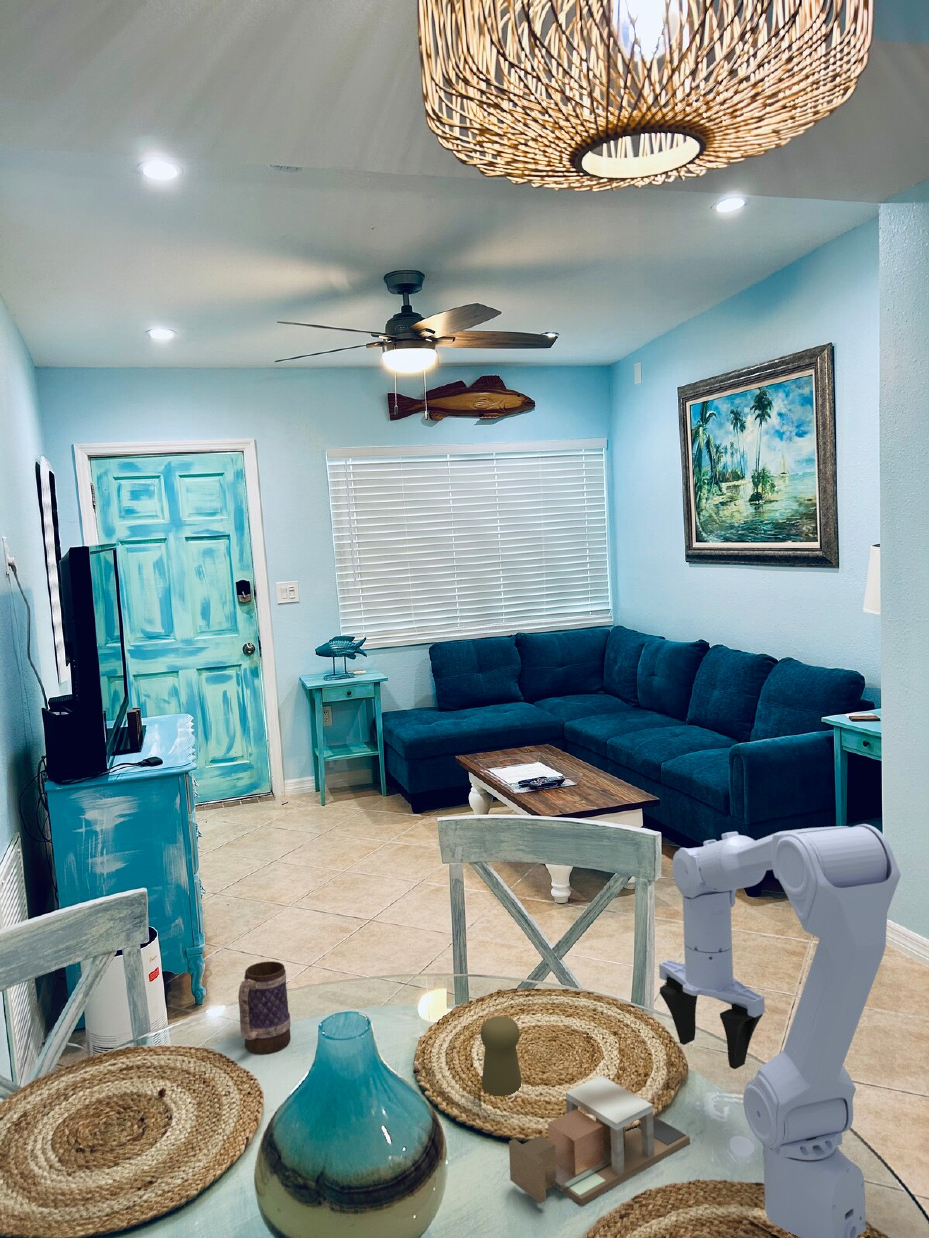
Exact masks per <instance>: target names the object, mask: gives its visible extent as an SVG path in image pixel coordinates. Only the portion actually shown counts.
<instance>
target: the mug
mask: <svg viewBox="0 0 929 1238" xmlns="http://www.w3.org/2000/svg"><path fill="white" fill-rule="evenodd" d="M287 988H288V987H287V972H286V969H285V965H284V963H282V962H279V961H270V960H269V961H260V962H258V963H255V964H252V965H250V966H248V967H247V968H246V969H245V972H244V978H243V981H241V983H240V985H239V989H238V995H237V997H238V999H237V1000H238V1006H239V1023H240V1024H239V1025H240V1035H241V1038H242V1039H244V1047H245V1048H246V1050H248V1051H249V1052H251V1053H253V1054H259V1055H264V1054H265V1055H266V1054H271V1053H275V1052H279V1051H281V1050H283V1049H284V1048H285V1047H286V1046H288V1044H290V1042H291V1040H292V1039H291V1037H292V1036H291V1023H292V1022H291V1014H290V1012H289V1001H288V990H287Z"/></svg>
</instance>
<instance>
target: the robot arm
mask: <svg viewBox="0 0 929 1238" xmlns="http://www.w3.org/2000/svg"><path fill="white" fill-rule="evenodd" d="M702 843H703V846H699V847H692V848H691V847H690V848H686V847H680V848H679V849H678V850H677V851H675V853H674V855H673V858H672V863H671V865H672V869H671V870H672V875H673V879H674V880H673V881H674V882H675V885H676V888H677V890H678V891H679V892H680V894H682V912H683V913H682V914H683V919H682V921H683V943H684V945H683V946H684V947H683V949H684V950H683V951H684V963H681V962H677V961H673V960H671V959H668V960H666V961H663V962H660V963H659V964H658V967H659V969H658V971H659V979H661V980H663V981H666V982H665V984H664V985H662V986H660V987H659V994H660V996H661V997H662V999H663V1000H664V1002H665V1004H666V1006H667V1007H668V1010H669V1012H670V1014H671V1018H672V1020H673V1023H674V1026H675V1030H676V1034H677V1037H678V1040H679V1044H681V1045H683V1046H684V1045H687V1044H689V1043H691V1042H693V1041H695V1038H696V1013H697V1011H696V1009H697V1001H698V996H699V995H700V996H704V997H709V998H713V999H715V1000H718V1001H720V1002H724V1003H726V1004H728V1005H730V1006H731V1008H729V1009H726V1010H724V1011H722V1012H720V1013H719V1018H720V1020H721V1023H722V1026H723V1029H724V1033H725V1036H726V1037H725V1038H726V1044H727V1060H728V1065H729V1068H731V1069H733V1070H736V1069H738V1068H741V1067H742V1066H744V1065H745V1064H746V1060H747V1055H748V1050H749V1047H750V1043H751V1039H752V1037H753V1033H754V1032H755V1030H756V1027H757V1025H758V1023H759V1021H760V1020H761V1019H762V1017H763V1016H764V1014H765V1013H766V1011H765V1008H766V1005H765V1004H766V1003H765V996H763V995H761V994H759V993H757V992H755V991H753V990H752V989H750V988H749V987H748V986H746V985H744V984H743V983H742V982H741V981H739V980H737V979H736V978H734V971H733V970H734V967H733V966H734V964H733V941H732V940H733V934H732V908H733V907H734V906H735V904H736V893H737V890H740V889H744V888H750V887H753V886H756V885H757V884H759V883H760V882H761V881H763V879H764V877H765V876H766V873H767V871H772V872H773V875H774V878H775V879H776V880H778V881H779V883H780V885H781V887H782V888H783V890H784V892H785V894H786V896H787V898H788V900H789V903H790V904H791V907H792V909H793V911H794V912H795V914H796V916H797V919H798V921H799V922H800V924H801V926H802V929H803V930H804V932H806V933H808V934H810V935H813V936H814V937H816V938H818V943H817V945H816V948H815V952H814V955H813V958H812V961H811V964H810V967H809V970H808V973H807V976H806V979H805V983H804V985H803V989H802V991H801V995H800V998H799V999H798V1000H799V1001H798V1005H797V1007H796V1009H795V1013H794V1017H793V1019H792V1022H791V1025H790V1029H789V1031H788V1035H787V1037H786V1039H785V1044H784V1047H783V1050H782V1051H781V1052H779V1053H778V1054H776V1055H775V1056H773V1057H772V1058H770V1059H769V1060H768V1061H767V1062H765V1063H764V1064H762V1065H761V1066H759V1067H758V1069H757V1073H756V1074H755V1077H754V1078H753V1079H751V1080H749V1081H748V1082H747V1083H746V1085H745V1088H744V1093H743V1100H742V1103H743V1110H744V1115H745V1118H746V1121H747V1124H748V1126H749V1127H750V1130H751V1131H752V1134H754V1136H755V1138H757V1140H758V1141H759V1142H760V1143H761V1144H762V1147H763V1148H762V1151H763V1152H762V1153H763V1154H762V1156H763V1157H762V1158H763V1180H764V1181H763V1183H764V1187H763V1188H764V1202H765V1211H766V1214H767V1217H768V1218H769V1219H770V1221H772V1222H773V1223H774V1225H777V1226H778V1227H779V1228H782V1229H783V1230H785V1231H786V1232H790V1233H791V1234H794V1235H796V1236H798V1237H802V1238H857V1236H858V1235H860V1234H861V1233H863V1232H865V1231H866V1227H867V1225H866V1224H867V1223H866V1198H865V1197H866V1195H865V1194H866V1193H865V1179H864V1174H863V1171H862V1169H861V1168H860V1166H858V1165H857V1164H855V1162H853V1161H851V1159H849V1158H848V1157H847V1156H846V1155H845V1154H844V1153H843V1152H842V1151H841V1150H840V1148H839V1147H838V1146H840V1145H842V1144H843V1133H846V1132H848V1131H849V1130H850V1129H851V1127H852V1126H853V1123H854V1122H853V1121H854V1105H853V1103H854V1101H853V1100H854V1097H855V1093H856V1090H857V1088H856V1086H855V1084H854V1082H853V1080H852V1078H851V1076H850V1074H849V1072H848V1071H847V1070H846V1068H845V1066H844V1062H845V1060H846V1058H847V1055H848V1052H849V1050H850V1047H851V1044H852V1041H853V1038H854V1036H855V1033H856V1030H857V1027H858V1025H859V1023H860V1020H861V1017H862V1014H863V1011H864V1008H865V1006H866V1004H867V1002H868V1001H867V1000H868V998H869V995H870V992H871V990H872V986H873V985H874V981H875V979H876V976H877V974H878V971H879V968H880V966H881V962H882V960H883V957H884V954H885V951H886V946H887V945H886V943H887V926H888V925H887V923H888V922H887V921H888V913H889V908H890V906H891V903H892V901H893V898H894V895H895V892H896V889H897V888H898V887H897V886H898V883H899V881H900V878H901V872H900V870H899V866H898V864H897V862H896V858H895V856H894V853H893V849H892V847H891V846H890V843H889V841H888V840H887V839H886V837H885V836H884V834H883V833H882V832H881V831H880V830H879V829H877V827H875V826H872V825H871V824H867V823H862V824H857V825H854V826H852V827H851V826H850V827H849V826H848V825H847V826H846V825H844V826H843V825H839V826H824V827H823V826H821V827H808V828H801V829H799V828H798V829H792V830H791V829H790V830H782V831H778V832H775V833H771V834H770V835H767V836H765V837H762V838H760V839H759V838H758V839H757V840H755V839H754V838H751V837H749V836H747V835H741V834H739V832H738V831H730V832H729V831H728V832H725V833H722V834H721V840H718V841H717V840H716V839H709V840H704V841H703V842H702Z"/></svg>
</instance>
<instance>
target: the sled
mask: <svg viewBox="0 0 929 1238" xmlns="http://www.w3.org/2000/svg"><path fill="white" fill-rule="evenodd" d="M547 1133H548V1135H547V1136H548V1139H547V1138H546V1137H544V1136H543V1135H541V1134H540V1135H538V1136H536V1137H535V1138H533V1139H531V1140H527V1142H525V1143H521V1142H519V1141H518V1140H517V1139H516V1138H514V1139H511V1140H509V1141H508V1148H509V1149H508V1150H509V1151H508V1152H509V1176H510V1177H509V1179H510V1180H509V1181H511V1182H512V1183H513V1184H515V1186H516V1185H517V1187H519V1188H520V1189H521V1190H522V1191H524V1192H525V1193H526V1194H527V1195H528V1196H530V1197H531V1198H533V1199H534V1200H535V1201H536V1202H537V1203H539V1204H543V1203H544V1202H546V1201H547V1195H546V1194H547V1192H546V1191H547V1190H548V1189H550V1188H552V1187H553V1186H554V1187H555V1186H556V1187H555V1188H557V1189H558V1190H559V1189H560V1190H559V1191H560V1192H562V1190H563V1189H565V1188H567V1187H569V1186H570V1185H572V1184H574V1183H576V1182H578V1181H579V1180H581V1179H583V1178H585V1177H587V1176H588V1175H590V1174H592V1173H594V1172H595V1171H597V1170H599V1169H601V1168H603V1167H604V1166H606V1165H608V1164H610V1163H612V1156H611V1128H610V1126H609V1125H607V1124H606V1123H604V1122H602V1121H601V1120H599V1119H598V1118H596V1117H595V1119H593V1118H591V1117H589V1116H588V1115H586V1114H585V1113H583V1112H582V1111H580V1110H579V1109H578V1110H577V1109H575V1110H573V1111H571V1112H569V1113H564V1114H563V1115H561V1116H559V1117H557V1118H555V1119H553V1120H551V1121H549V1122H547ZM623 1143H624V1146H625V1126H624V1127H623Z"/></svg>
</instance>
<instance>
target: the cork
mask: <svg viewBox="0 0 929 1238" xmlns="http://www.w3.org/2000/svg"><path fill="white" fill-rule="evenodd" d="M520 1032H521V1030H520V1029H519V1025H518V1023H517V1022H516V1021H515V1020H514V1019H513V1018H510V1017H507V1016H503V1015H499V1016H493V1017H489V1018H488V1019H486V1020H485V1021H483V1023H482V1025H481V1028H480V1039H481V1043H482V1045H483V1046H484V1055H483V1056H484V1057H483V1065H482V1066H483V1067H482V1077H481V1086H482V1089H483V1090H484V1091H485V1092H487V1093H489V1094H490V1095H493V1096H501V1097H502V1096H505V1095H511V1094H513V1093H515V1092H516V1091H518V1090H519V1088H520V1087H521V1082H522V1083H523V1080H522V1075H521V1067H520V1063H519V1062H520V1061H519V1058H518V1057H519V1056H518V1052H517V1051H518V1050H517V1045H518V1044H519V1040H520V1035H521V1034H520Z"/></svg>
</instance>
